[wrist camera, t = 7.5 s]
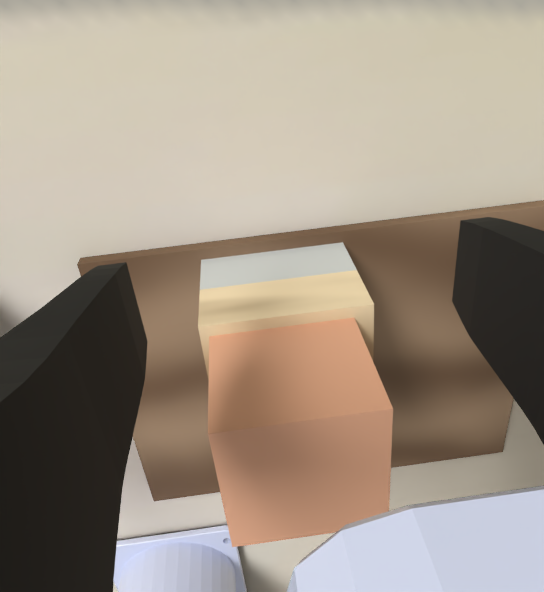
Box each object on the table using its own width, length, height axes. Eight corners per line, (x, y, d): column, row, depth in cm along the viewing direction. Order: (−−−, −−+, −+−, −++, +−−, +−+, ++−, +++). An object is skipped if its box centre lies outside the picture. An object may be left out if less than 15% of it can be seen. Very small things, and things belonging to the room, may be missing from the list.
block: (355, 423, 20) (388, 524, 16) (228, 440, 20) (232, 547, 16) (354, 317, 18) (393, 408, 14) (209, 336, 18) (207, 433, 14)
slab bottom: (345, 354, 25) (357, 389, 23) (221, 371, 25) (222, 407, 23) (342, 242, 22) (356, 270, 20) (201, 259, 22) (199, 289, 19)
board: (497, 444, 30) (502, 451, 30) (154, 492, 29) (154, 501, 29) (544, 200, 22) (552, 205, 22) (80, 258, 22) (77, 264, 21)
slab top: (357, 389, 23) (372, 431, 21) (222, 407, 23) (222, 451, 20) (356, 270, 20) (374, 304, 18) (199, 289, 19) (197, 326, 17)
